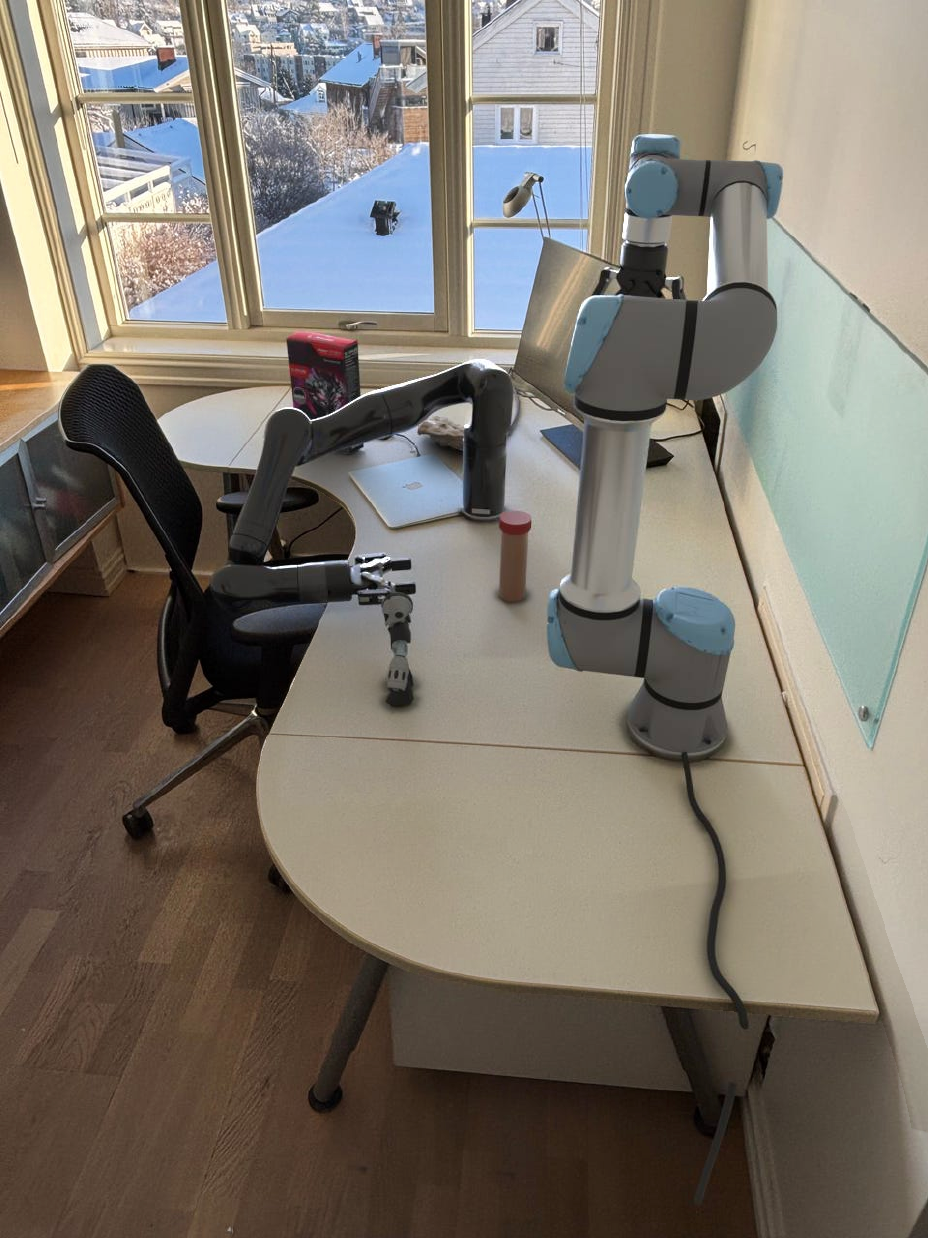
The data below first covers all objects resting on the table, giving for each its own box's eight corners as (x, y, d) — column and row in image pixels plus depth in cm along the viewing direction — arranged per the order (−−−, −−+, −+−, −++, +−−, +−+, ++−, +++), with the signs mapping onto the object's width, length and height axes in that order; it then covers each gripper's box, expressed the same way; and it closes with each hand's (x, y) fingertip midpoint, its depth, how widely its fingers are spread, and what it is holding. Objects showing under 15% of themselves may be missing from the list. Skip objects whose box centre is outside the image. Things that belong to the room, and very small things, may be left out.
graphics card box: (294, 443, 234) (283, 336, 218) (310, 434, 239) (300, 328, 224) (350, 457, 227) (343, 347, 212) (366, 447, 232) (360, 339, 217)
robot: (415, 731, 142) (412, 624, 131) (384, 732, 142) (378, 624, 131) (414, 656, 158) (412, 555, 147) (386, 656, 158) (381, 555, 147)
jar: (526, 601, 174) (531, 525, 165) (500, 602, 173) (503, 526, 164) (522, 587, 178) (526, 512, 169) (497, 588, 177) (500, 513, 168)
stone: (401, 440, 228) (406, 416, 226) (420, 431, 242) (425, 408, 239) (481, 464, 225) (487, 440, 222) (495, 454, 238) (501, 431, 236)
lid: (533, 534, 165) (534, 524, 164) (501, 536, 165) (501, 525, 164) (528, 519, 170) (529, 509, 169) (497, 520, 170) (497, 510, 168)
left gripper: (325, 579, 175) (410, 573, 177) (326, 621, 164) (417, 613, 166) (322, 544, 171) (409, 538, 173) (323, 585, 159) (416, 578, 161)
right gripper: (727, 246, 147) (707, 376, 159) (584, 229, 157) (574, 353, 169) (713, 255, 142) (693, 389, 154) (565, 237, 152) (557, 364, 164)
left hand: (413, 575), depth 169 cm, fingers open, 8 cm apart
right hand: (631, 370), depth 161 cm, fingers open, 13 cm apart
